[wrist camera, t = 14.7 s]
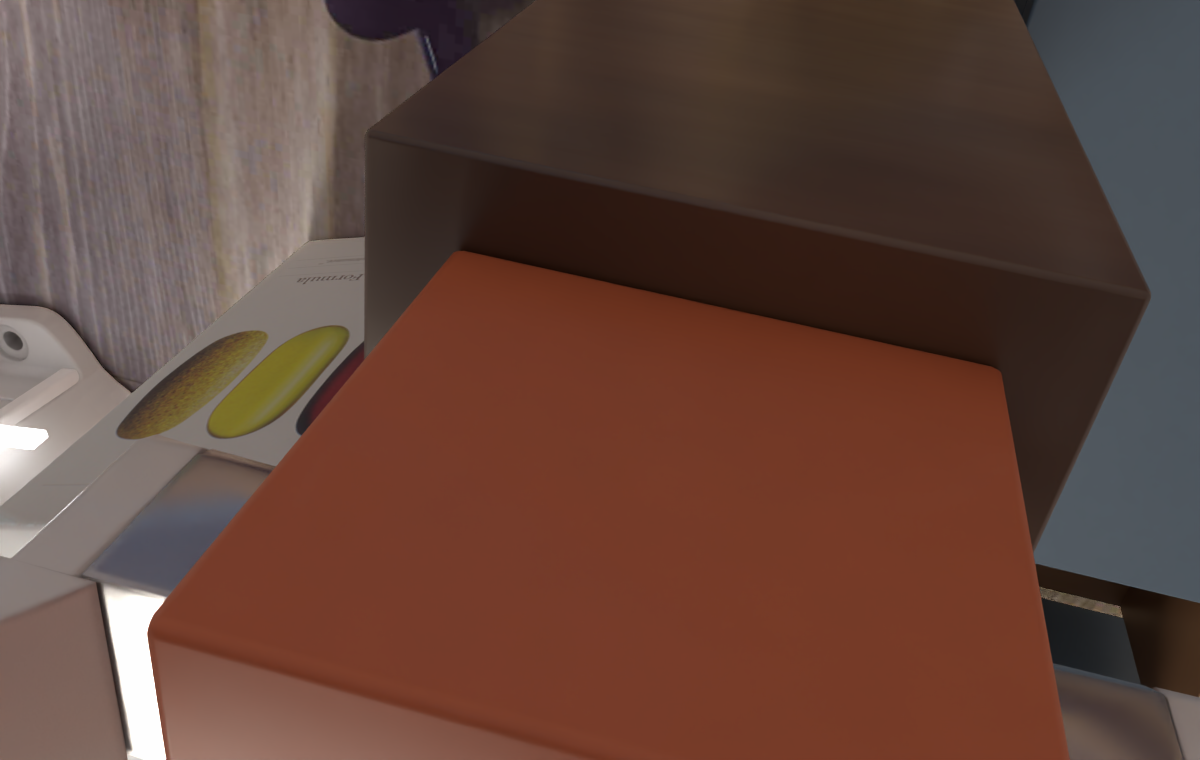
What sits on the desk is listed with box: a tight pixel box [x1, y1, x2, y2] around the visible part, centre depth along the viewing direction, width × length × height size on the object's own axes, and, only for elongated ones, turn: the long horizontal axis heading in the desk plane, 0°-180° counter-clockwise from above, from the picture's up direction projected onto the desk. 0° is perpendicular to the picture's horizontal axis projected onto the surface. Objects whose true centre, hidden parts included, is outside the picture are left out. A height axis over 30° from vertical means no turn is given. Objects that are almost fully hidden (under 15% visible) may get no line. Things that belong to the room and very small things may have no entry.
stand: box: [364, 0, 1151, 553], centre depth 20 cm, size 6×6×25 cm
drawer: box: [1035, 563, 1200, 697], centre depth 34 cm, size 18×11×8 cm, turn 173°
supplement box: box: [0, 237, 365, 760], centre depth 33 cm, size 10×9×17 cm
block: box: [147, 251, 1070, 760], centre depth 8 cm, size 4×4×4 cm
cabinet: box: [1014, 0, 1200, 603], centre depth 27 cm, size 15×13×10 cm
